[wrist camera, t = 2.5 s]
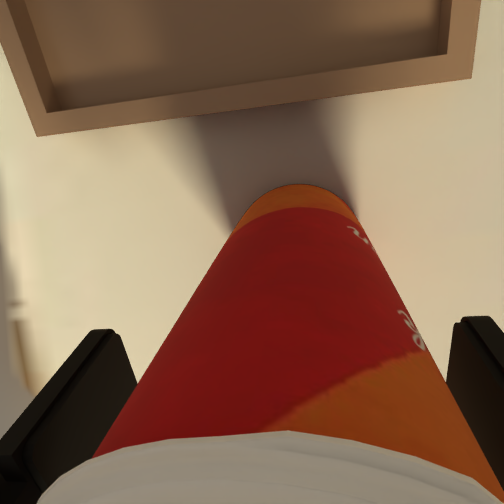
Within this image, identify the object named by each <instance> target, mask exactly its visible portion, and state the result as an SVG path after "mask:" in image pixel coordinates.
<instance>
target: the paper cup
mask: <svg viewBox="0 0 504 504" xmlns="http://www.w3.org/2000/svg"><path fill="white" fill-rule="evenodd" d="M37 504H504V491H503V489H502V487H501V485H500V483H499V482H498V480H497V478H496V476H495V474H494V472H493V470H492V468H491V467H490V465H489V463H488V461H487V459H486V457H485V455H484V453H483V452H482V450H481V448H480V446H479V444H478V442H477V440H476V438H475V437H474V435H473V433H472V431H471V429H470V427H469V425H468V423H467V422H466V420H465V418H464V416H463V414H462V412H461V410H460V408H459V407H458V405H457V403H456V401H455V399H454V397H453V395H452V393H451V392H450V390H449V388H448V386H447V384H446V382H445V380H444V378H443V377H442V375H441V373H440V371H439V369H438V367H437V365H436V363H435V361H434V360H433V358H432V356H431V354H430V352H429V350H428V348H427V346H426V345H425V343H424V341H423V339H422V337H421V335H420V333H419V331H418V329H417V328H416V326H415V324H414V322H413V320H412V318H411V316H410V314H409V313H408V311H407V309H406V307H405V305H404V303H403V301H402V299H401V297H400V296H399V294H398V292H397V290H396V288H395V286H394V284H393V283H392V281H391V279H390V277H389V275H388V273H387V271H386V270H385V268H384V266H383V264H382V262H381V260H380V258H379V257H378V255H377V253H376V251H375V249H374V247H373V246H372V244H371V242H370V240H369V238H368V237H367V235H366V233H365V231H364V229H363V228H362V226H361V224H360V223H359V221H358V219H357V218H356V216H355V215H354V213H353V212H352V210H351V209H350V208H349V207H348V205H347V204H346V203H345V202H344V201H343V200H341V199H340V198H339V197H338V196H336V195H335V194H333V193H331V192H330V191H328V190H325V189H323V188H320V187H317V186H313V185H306V184H293V185H286V186H282V187H279V188H276V189H273V190H271V191H269V192H267V193H266V194H264V195H263V196H261V197H260V198H259V199H257V200H256V201H255V202H254V203H253V204H252V205H251V206H250V208H249V209H248V210H247V211H246V213H245V214H244V215H243V217H242V218H241V220H240V221H239V223H238V224H237V226H236V227H235V229H234V230H233V232H232V233H231V235H230V237H229V238H228V240H227V241H226V243H225V244H224V246H223V247H222V249H221V251H220V252H219V254H218V255H217V257H216V259H215V260H214V262H213V263H212V265H211V267H210V268H209V270H208V271H207V273H206V275H205V276H204V278H203V279H202V281H201V283H200V284H199V286H198V287H197V289H196V291H195V292H194V294H193V296H192V297H191V299H190V300H189V302H188V304H187V305H186V307H185V308H184V310H183V312H182V313H181V315H180V317H179V318H178V320H177V321H176V323H175V325H174V326H173V328H172V329H171V331H170V333H169V334H168V336H167V338H166V339H165V341H164V342H163V344H162V346H161V347H160V349H159V350H158V352H157V354H156V355H155V357H154V359H153V360H152V362H151V363H150V365H149V367H148V368H147V370H146V371H145V373H144V375H143V376H142V378H141V379H140V381H139V383H138V384H137V386H136V388H135V389H134V391H133V392H132V394H131V396H130V397H129V399H128V400H127V402H126V404H125V405H124V407H123V409H122V410H121V412H120V413H119V415H118V417H117V418H116V420H115V421H114V423H113V425H112V426H111V428H110V429H109V431H108V433H107V434H106V436H105V438H104V439H103V441H102V442H101V444H100V446H99V447H98V449H97V450H96V452H95V454H94V455H93V457H92V458H91V459H90V460H87V461H85V462H84V463H82V464H80V465H78V466H77V467H75V468H73V469H72V470H70V471H68V472H67V473H65V474H63V475H61V476H60V477H59V478H58V479H57V480H56V481H55V482H54V483H53V484H52V485H51V486H50V487H49V488H48V489H47V490H46V491H45V492H44V493H43V494H42V495H41V497H40V498H39V500H38V502H37Z"/></svg>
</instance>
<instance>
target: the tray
mask: <svg viewBox="0 0 504 504" xmlns="http://www.w3.org/2000/svg"><path fill="white" fill-rule="evenodd" d="M480 5H481V0H0V42H1V45H2V48H3V50H4V53H5V55H6V58H7V61H8V63H9V66H10V68H11V71H12V74H13V76H14V79H15V81H16V84H17V87H18V89H19V92H20V94H21V97H22V100H23V102H24V105H25V107H26V110H27V113H28V115H29V118H30V120H31V123H32V125H33V128H34V131H35V133H36V136H37V137H40V136H47V135H55V134H62V133H70V132H77V131H84V130H92V129H99V128H107V127H114V126H122V125H129V124H137V123H144V122H151V121H159V120H166V119H174V118H181V117H189V116H196V115H203V114H211V113H218V112H226V111H233V110H241V109H248V108H255V107H263V106H270V105H278V104H285V103H293V102H300V101H307V100H315V99H322V98H330V97H337V96H345V95H352V94H359V93H367V92H374V91H382V90H389V89H397V88H404V87H412V86H419V85H426V84H434V83H441V82H449V81H456V80H464V79H471V78H472V70H473V62H474V54H475V46H476V37H477V29H478V21H479V13H480Z"/></svg>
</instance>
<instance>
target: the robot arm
mask: <svg viewBox="0 0 504 504" xmlns="http://www.w3.org/2000/svg"><path fill="white" fill-rule="evenodd" d="M446 384H447V386H448V388H449V390H450V392H451V393H452V395H453V397H454V399H455V401H456V403H457V405H458V407H459V408H460V410H461V412H462V414H463V416H464V418H465V420H466V422H467V423H468V425H469V427H470V429H471V431H472V433H473V435H474V437H475V438H476V440H477V442H478V444H479V446H480V448H481V450H482V452H483V453H484V455H485V457H486V459H487V461H488V463H489V465H490V467H491V468H492V470H493V472H494V474H495V476H496V478H497V480H498V482H499V483H500V485H501V487H502V489H503V491H504V333H503V332H502V330H501V329H500V328H499V327H498V325H497V324H496V323H495V322H494V320H493V319H492V318H491V317H489V316H467V317H463V318H462V319H461V322H460V323H455V324H454V327H453V334H452V342H451V349H450V357H449V364H448V371H447V379H446ZM136 386H137V381H136V378H135V375H134V373H133V370H132V367H131V364H130V362H129V359H128V356H127V353H126V351H125V348H124V345H123V342H122V339H121V337H120V335H119V334H116V333H115V331H114V330H113V329H94V330H91V331H90V332H89V333H88V334H87V336H86V337H85V338H84V339H83V340H82V342H81V343H80V344H79V345H78V346H77V348H76V349H75V350H74V351H73V352H72V354H71V355H70V356H69V357H68V358H67V360H66V361H65V362H64V363H63V365H62V366H61V367H60V368H59V369H58V371H57V372H56V373H55V374H54V375H53V377H52V378H51V379H50V380H49V381H48V383H47V384H46V385H45V386H44V388H43V389H42V390H41V391H40V392H39V394H38V395H37V396H36V397H35V398H34V400H33V401H32V402H31V403H30V404H29V406H28V407H27V408H26V409H25V410H24V412H23V413H22V414H21V415H20V417H19V418H18V419H17V420H16V421H15V423H14V424H13V425H12V426H11V427H10V429H9V430H8V431H7V432H6V433H5V435H4V436H3V437H2V438H1V440H0V504H37V502H38V500H39V498H40V497H41V495H42V494H43V493H44V492H45V491H46V490H47V489H48V488H49V487H50V486H51V485H52V484H53V483H54V482H55V481H56V480H57V479H58V478H59V477H60V476H61V475H63V474H65V473H67V472H68V471H70V470H72V469H73V468H75V467H77V466H78V465H80V464H82V463H84V462H85V461H87V460H90V459H91V458H92V457H93V455H94V454H95V452H96V450H97V449H98V447H99V446H100V444H101V442H102V441H103V439H104V438H105V436H106V434H107V433H108V431H109V429H110V428H111V426H112V425H113V423H114V421H115V420H116V418H117V417H118V415H119V413H120V412H121V410H122V409H123V407H124V405H125V404H126V402H127V400H128V399H129V397H130V396H131V394H132V392H133V391H134V389H135V388H136Z"/></svg>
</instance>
